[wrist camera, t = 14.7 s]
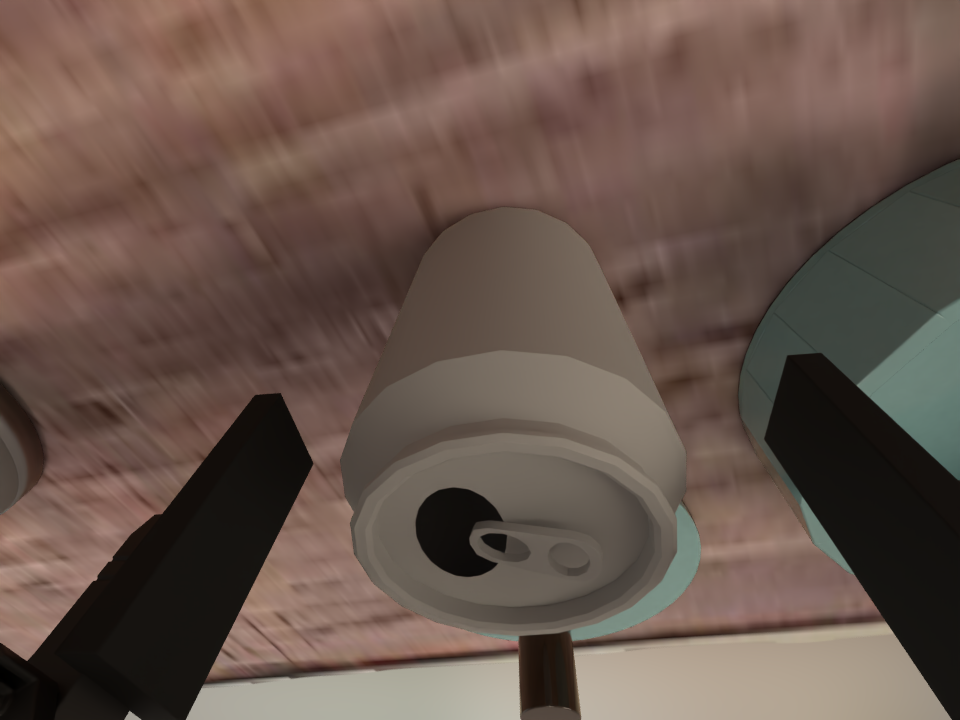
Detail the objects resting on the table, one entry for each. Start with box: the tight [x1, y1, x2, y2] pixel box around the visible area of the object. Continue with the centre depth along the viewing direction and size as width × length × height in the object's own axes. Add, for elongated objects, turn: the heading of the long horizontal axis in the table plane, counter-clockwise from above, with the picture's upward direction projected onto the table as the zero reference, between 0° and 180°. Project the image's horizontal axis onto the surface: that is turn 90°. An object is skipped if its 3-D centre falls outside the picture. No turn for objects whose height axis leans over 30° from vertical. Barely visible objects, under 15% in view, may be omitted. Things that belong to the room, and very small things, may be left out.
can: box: [340, 207, 686, 636], centre depth 13 cm, size 8×8×12 cm
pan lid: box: [467, 501, 701, 720], centre depth 24 cm, size 18×18×9 cm
